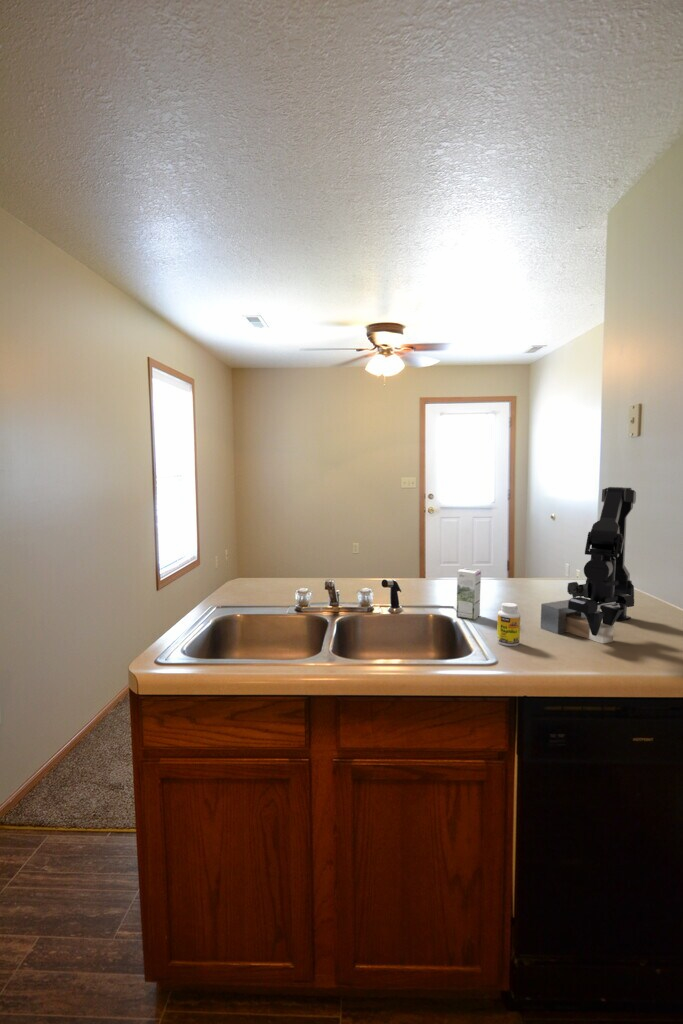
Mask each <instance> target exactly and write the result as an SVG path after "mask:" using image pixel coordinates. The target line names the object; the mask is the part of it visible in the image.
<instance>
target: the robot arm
mask: <svg viewBox="0 0 683 1024" xmlns="http://www.w3.org/2000/svg"><path fill="white" fill-rule="evenodd" d="M636 501H637V492H636V490H635V489H633V488H632V487H622V486H621V487H619V486H607V487H605V488H602V489H601V502H602V503H603V506H602V510H601V513H600V517H599V520H597V521H596V522H594V523H593V525H592V527H591V529H590V531H588V533H587V539H586V543H585V549H584V555H587V556H588V555H589V556H590V559H589V560H588V561H587V562H586V563H585V565H584V567H583V573H584V576H585V577H586V579H585V583H582V584H579V583H578V582H577V581H573V582H568V583H567V587H566V588H567V593H568V594H569V595H571V596H572V597H571V598H569V599H568V600H569V601H568V609H572V610H575V611H578V612H582V613H584V614H585V616H586V618H587V621H588V624H589V627H590V630H591V633H592V635H594V636H596V635H597V633H598V631H599V628H600V624H601V623H603V624H607V625H610V626H613V627H614V624H615V622H621V621H624V620H625V621H626V620H629V619H630V620H631V619H632V617H631V616H629V615H627V611H628V610H627V609H628V608H631V607H634V606H635V585H634V584H633V582H632V581H633V580H630V578H631V574H630V571H629V570H628V569H627V567H626V565H625V558H626V557H625V556H626V540H627V539H626V536H627V517H628V516H629V514H630V513H631V511H632V510H633V509H634V505H636Z"/></svg>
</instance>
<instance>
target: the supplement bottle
mask: <svg viewBox="0 0 683 1024" xmlns="http://www.w3.org/2000/svg"><path fill="white" fill-rule="evenodd" d="M500 609H501V610H498V612H497V627H496V629H497V630H496V631H497V632H496V641H497V643H498V644H499V645H502V646H506V647H515V646H518V645H519V644H520V634H521V613H520V612H519V611H518V604H517V603H513V602H502V603H501V607H500Z"/></svg>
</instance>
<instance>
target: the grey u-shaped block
mask: <svg viewBox="0 0 683 1024" xmlns="http://www.w3.org/2000/svg"><path fill="white" fill-rule="evenodd" d="M569 600H570V599H564V600H559V601H558V600H557V601H551V602H545V603H544V602H543V603H541V604H540V606H541V607H540V629H542V628H543V629H542V630H545V631H548V632H551V633H554V634H556V633H557V635H558V634H564V633H566V613H569V614H573V615H576V616H580V617H583V618H586V616H585V614H584V613H582V612H578V611H575V610H572V609H568V601H569ZM586 619H587V618H586Z"/></svg>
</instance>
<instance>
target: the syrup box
mask: <svg viewBox="0 0 683 1024" xmlns="http://www.w3.org/2000/svg"><path fill="white" fill-rule="evenodd" d="M456 574H457V575H456V577H457V578H456V579H457V580H456V618H460V619H461V618H462V619H466V618H467V619H468V620H472V621H473V620H476V619H477V618H479V617H480V616H481V615H480V614H481V583H482V582H481V580H482V569H477V568H468V567H467V568H465V567H462V568H460V569H458V570H457V573H456ZM478 616H479V617H478ZM467 619H466V620H467Z"/></svg>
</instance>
